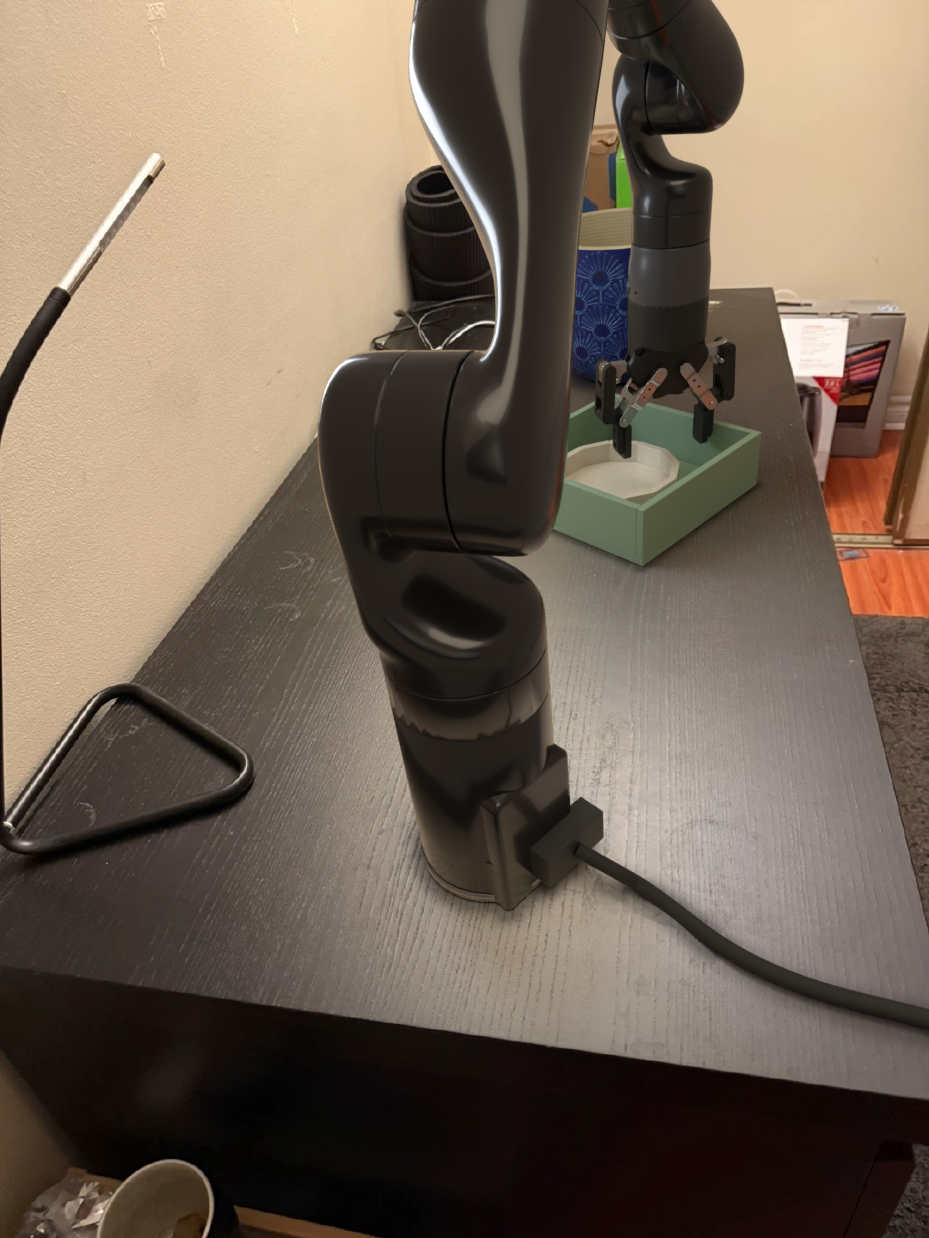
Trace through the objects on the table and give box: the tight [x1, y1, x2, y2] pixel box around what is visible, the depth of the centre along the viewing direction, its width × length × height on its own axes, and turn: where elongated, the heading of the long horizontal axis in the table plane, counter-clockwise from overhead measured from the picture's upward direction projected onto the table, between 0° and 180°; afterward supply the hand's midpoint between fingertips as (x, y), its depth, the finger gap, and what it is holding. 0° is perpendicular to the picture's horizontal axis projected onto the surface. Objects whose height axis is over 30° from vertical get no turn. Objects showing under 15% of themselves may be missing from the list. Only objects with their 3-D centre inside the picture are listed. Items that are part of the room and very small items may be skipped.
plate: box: [565, 440, 680, 505], centre depth 90 cm, size 13×13×3 cm
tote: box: [553, 392, 763, 567], centre depth 89 cm, size 20×20×6 cm
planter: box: [572, 206, 632, 384], centre depth 114 cm, size 21×21×19 cm
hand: (662, 448), depth 89 cm, fingers open, 8 cm apart
